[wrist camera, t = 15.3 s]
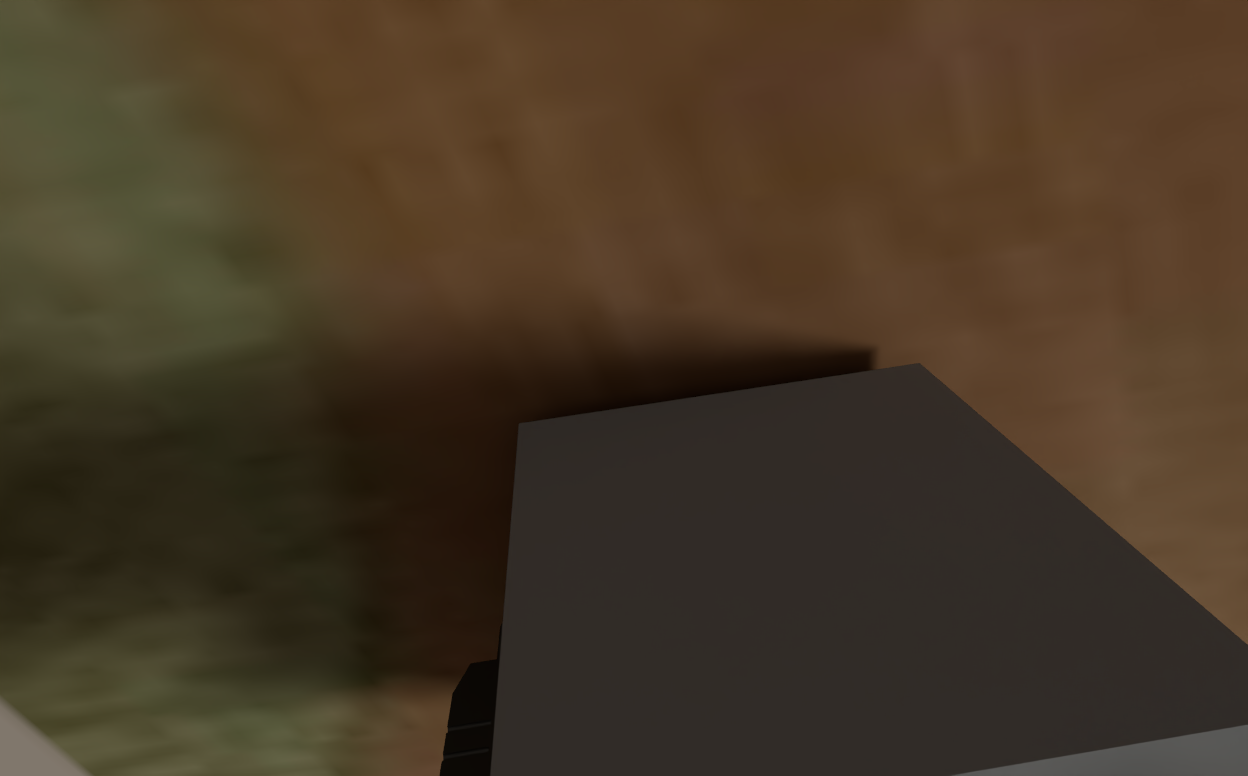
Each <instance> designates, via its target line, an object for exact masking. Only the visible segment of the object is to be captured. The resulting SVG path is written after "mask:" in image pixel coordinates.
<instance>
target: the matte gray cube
mask: <svg viewBox="0 0 1248 776" xmlns="http://www.w3.org/2000/svg"><path fill="white" fill-rule="evenodd" d="M490 776H1248V645H1247V644H1246V643H1245V642H1244V641H1242V640H1241V639H1240V638H1239V637H1238V636H1237V635H1235V634H1234V633H1233V632H1232V631H1231V630H1230V629H1228V628H1227V627H1226V626H1225V625H1224V624H1223V623H1221V622H1220V621H1219V620H1218V619H1217V618H1216V617H1214V616H1213V615H1212V614H1211V613H1210V612H1209V611H1207V610H1206V609H1205V608H1204V607H1203V606H1202V605H1200V604H1199V603H1198V602H1197V601H1196V600H1195V599H1193V598H1192V597H1191V596H1190V595H1189V594H1188V593H1186V592H1185V591H1184V590H1183V589H1182V588H1181V587H1180V586H1178V585H1177V584H1176V583H1175V582H1174V581H1173V580H1171V579H1170V578H1169V577H1168V576H1167V575H1166V574H1164V573H1163V572H1162V571H1161V570H1160V569H1159V568H1157V567H1156V566H1155V565H1154V564H1153V563H1152V562H1150V561H1149V560H1148V559H1147V558H1146V557H1145V556H1143V555H1142V554H1141V553H1140V552H1139V551H1138V550H1136V549H1135V548H1134V547H1133V546H1132V545H1131V544H1129V543H1128V542H1127V541H1126V540H1125V539H1124V538H1122V537H1121V536H1120V535H1119V534H1118V533H1117V532H1115V531H1114V530H1113V529H1112V528H1111V527H1110V526H1109V525H1107V524H1106V523H1105V522H1104V521H1103V520H1102V519H1100V518H1099V517H1098V516H1097V515H1096V514H1095V513H1093V512H1092V511H1091V510H1090V509H1089V508H1088V507H1086V506H1085V505H1084V504H1083V503H1082V502H1081V501H1079V500H1078V499H1077V498H1076V497H1075V496H1074V495H1072V494H1071V493H1070V492H1069V491H1068V490H1067V489H1065V488H1064V487H1063V486H1062V485H1061V484H1060V483H1058V482H1057V481H1056V480H1055V479H1054V478H1053V477H1051V476H1050V475H1049V474H1048V473H1047V472H1046V471H1044V470H1043V469H1042V468H1041V467H1040V466H1039V465H1038V464H1036V463H1035V462H1034V461H1033V460H1032V459H1031V458H1029V457H1028V456H1027V455H1026V454H1025V453H1024V452H1022V451H1021V450H1020V449H1019V448H1018V447H1017V446H1015V445H1014V444H1013V443H1012V442H1011V441H1010V440H1008V439H1007V438H1006V437H1005V436H1004V435H1003V434H1001V433H1000V432H999V431H998V430H997V429H996V428H994V427H993V426H992V425H991V424H990V423H989V422H987V421H986V420H985V419H984V418H983V417H982V416H980V415H979V414H978V413H977V412H976V411H975V410H973V409H972V408H971V407H970V406H969V405H968V404H967V403H965V402H964V401H963V400H962V399H961V398H960V397H958V396H957V395H956V394H955V393H954V392H953V391H951V390H950V389H949V388H948V387H947V386H946V385H944V384H943V383H942V382H941V381H940V380H939V379H937V378H936V377H935V376H934V375H933V374H932V373H930V372H929V371H928V370H927V369H926V368H925V367H923V366H922V365H921V364H920V363H918V364H911V365H904V366H898V367H891V368H884V369H878V370H871V371H864V372H858V373H851V374H844V375H838V376H831V377H824V378H818V379H811V380H805V381H798V382H791V383H785V384H778V385H771V386H765V387H758V388H751V389H745V390H738V391H731V392H725V393H718V394H711V395H705V396H698V397H692V398H685V399H678V400H672V401H665V402H658V403H652V404H645V405H638V406H632V407H625V408H618V409H612V410H605V411H599V412H592V413H585V414H579V415H572V416H565V417H559V418H552V419H545V420H539V421H532V422H525V423H519V428H518V440H517V453H516V465H515V477H514V490H513V502H512V514H511V527H510V539H509V551H508V564H507V576H506V588H505V601H504V613H503V625H502V638H501V650H500V662H499V675H498V687H497V699H496V712H495V724H494V736H493V749H492V761H491V773H490Z"/></svg>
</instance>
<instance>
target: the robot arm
mask: <svg viewBox="0 0 1248 776" xmlns="http://www.w3.org/2000/svg"><path fill="white" fill-rule="evenodd" d="M502 625H503V623H502V624H501V627H500V634H499V644H498V655H497V659H496V660H490V661H484V662H478V663H471V664H470V666H469V667H468V669H467V671H466V672H465V674H464V676H463V677H462V679H461V681H460V682H459V684H458V686H457V687H456V689H455V691H454V692H453V695H452V701H451V707H450V714H449V720H448V726H447V727H448V733H446V739H445V745H444V751H443V757H444V759H443V761H442V764H441V770H440V776H490V773H491V761H492V749H493V736H494V724H495V712H496V699H497V687H498V675H499V662H500V650H501V638H502Z"/></svg>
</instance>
